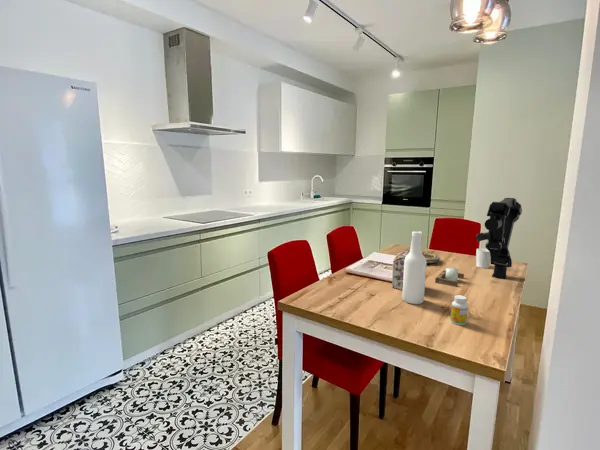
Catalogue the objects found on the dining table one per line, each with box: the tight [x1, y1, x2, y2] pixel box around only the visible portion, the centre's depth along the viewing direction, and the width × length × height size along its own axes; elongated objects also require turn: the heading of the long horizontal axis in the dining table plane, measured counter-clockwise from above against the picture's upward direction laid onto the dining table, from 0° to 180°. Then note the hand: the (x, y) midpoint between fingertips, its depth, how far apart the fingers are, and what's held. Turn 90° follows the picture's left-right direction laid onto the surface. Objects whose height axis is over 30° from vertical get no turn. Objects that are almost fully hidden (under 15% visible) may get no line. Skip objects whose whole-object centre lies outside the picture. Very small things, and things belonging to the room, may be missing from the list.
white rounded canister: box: [444, 267, 459, 281], centre depth 169 cm, size 6×6×6 cm
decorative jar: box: [391, 249, 427, 291], centre depth 158 cm, size 12×12×18 cm
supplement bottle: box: [450, 294, 469, 326], centre depth 123 cm, size 5×5×10 cm
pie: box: [422, 250, 441, 265], centre depth 204 cm, size 28×27×5 cm
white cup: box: [475, 247, 491, 269], centre depth 193 cm, size 8×8×10 cm
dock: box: [434, 270, 465, 288], centre depth 169 cm, size 16×10×2 cm, turn 144°
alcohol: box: [401, 230, 427, 305], centre depth 141 cm, size 9×9×30 cm
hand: (493, 259), depth 164 cm, fingers open, 9 cm apart
